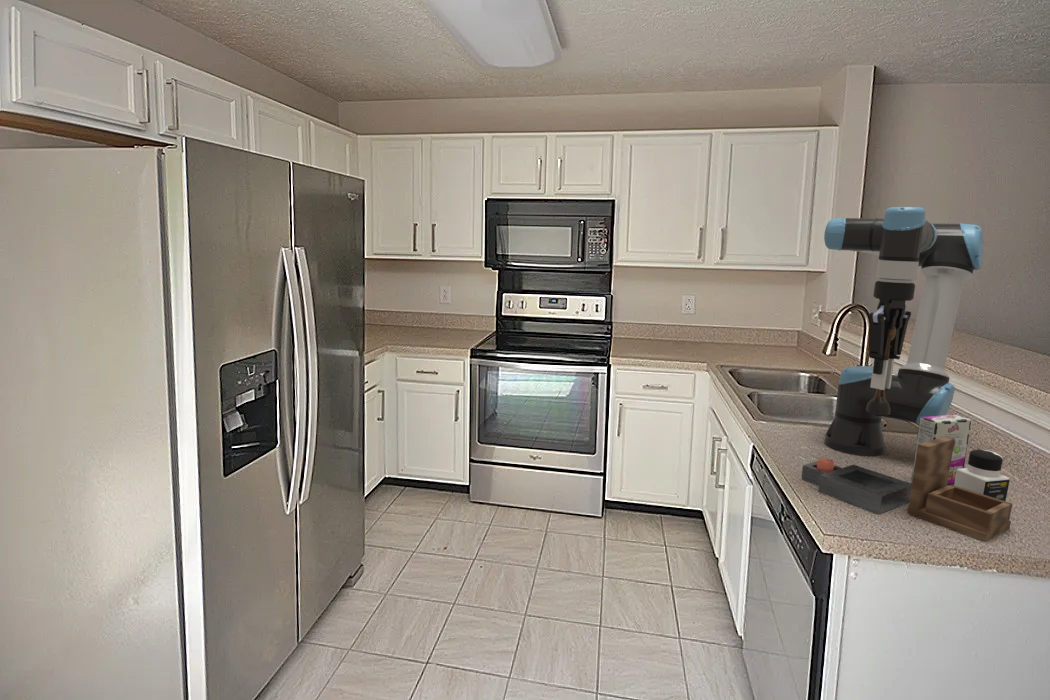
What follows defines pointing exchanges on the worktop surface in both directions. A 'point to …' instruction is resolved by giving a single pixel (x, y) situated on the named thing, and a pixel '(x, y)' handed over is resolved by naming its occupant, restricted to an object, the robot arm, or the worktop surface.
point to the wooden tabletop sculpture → (881, 392)
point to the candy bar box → (950, 428)
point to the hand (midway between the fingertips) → (880, 387)
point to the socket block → (860, 486)
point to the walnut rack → (952, 496)
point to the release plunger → (825, 464)
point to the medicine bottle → (983, 475)
